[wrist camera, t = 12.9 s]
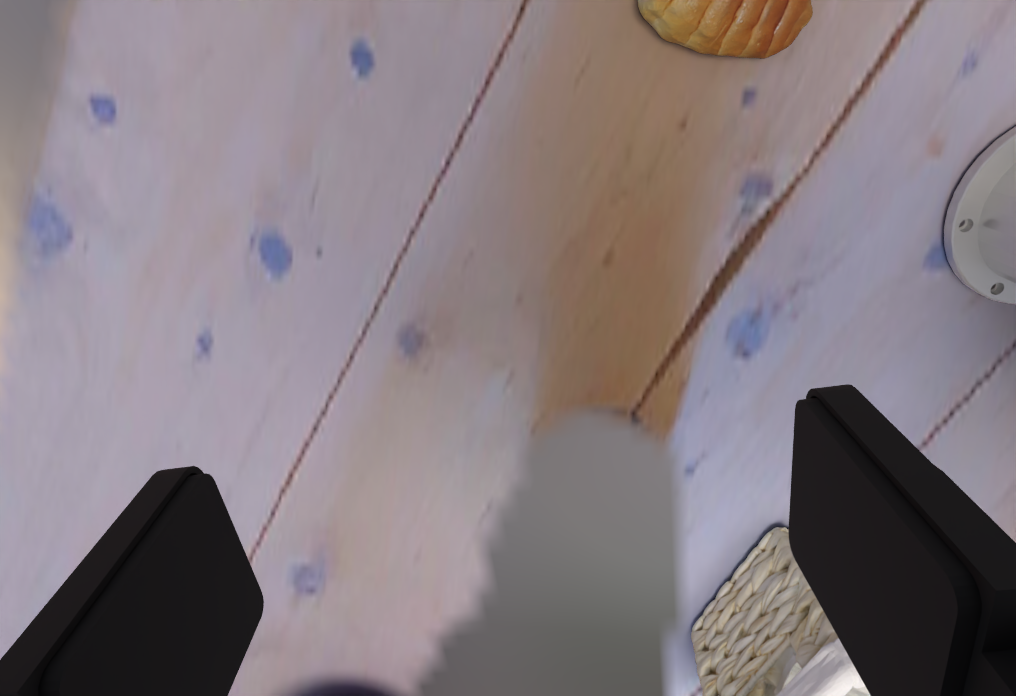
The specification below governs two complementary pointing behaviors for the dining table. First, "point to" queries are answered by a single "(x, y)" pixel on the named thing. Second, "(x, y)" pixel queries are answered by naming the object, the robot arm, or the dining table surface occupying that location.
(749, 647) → the storage basket
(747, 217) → the dining table surface
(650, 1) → the pastry
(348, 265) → the dining table surface
